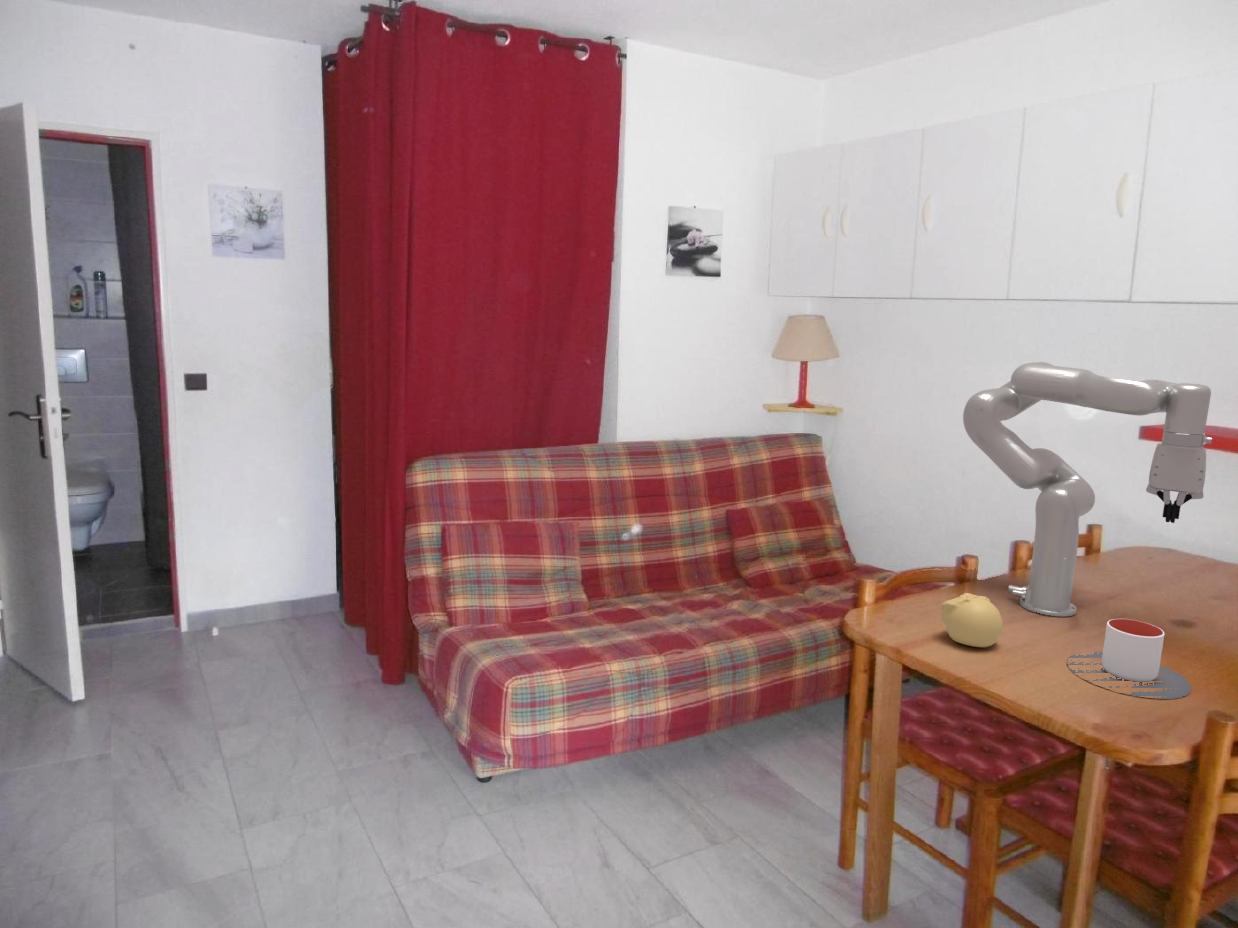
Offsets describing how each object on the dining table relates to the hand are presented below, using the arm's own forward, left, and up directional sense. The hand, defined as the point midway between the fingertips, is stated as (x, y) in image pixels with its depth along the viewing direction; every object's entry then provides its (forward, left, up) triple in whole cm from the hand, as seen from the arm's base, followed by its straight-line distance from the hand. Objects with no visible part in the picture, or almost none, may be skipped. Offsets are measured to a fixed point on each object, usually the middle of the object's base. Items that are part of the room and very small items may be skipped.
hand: (1169, 521), depth 188 cm
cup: (-5, -28, -27) cm, 39 cm away
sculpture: (-35, -28, -27) cm, 53 cm away
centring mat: (-5, -28, -27) cm, 39 cm away
